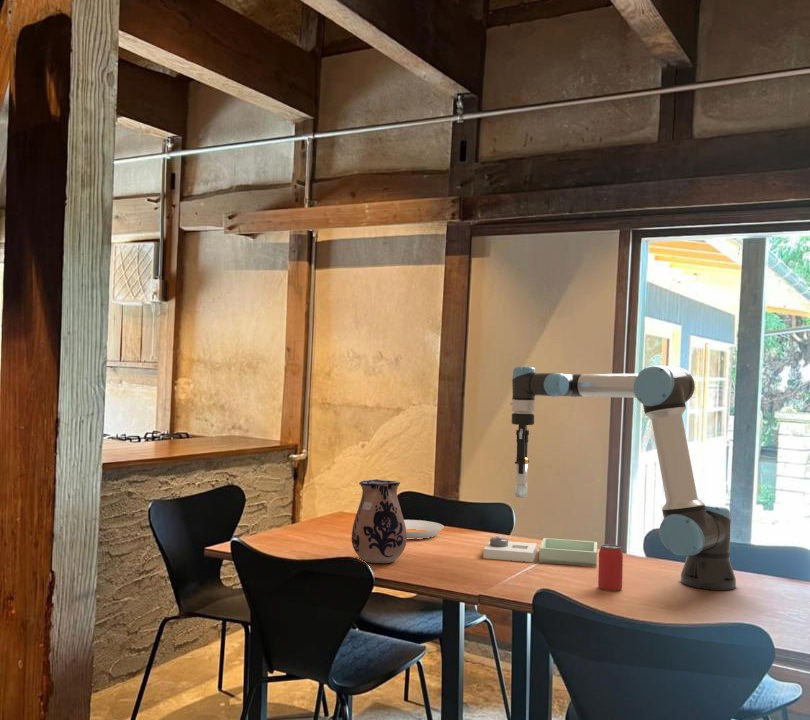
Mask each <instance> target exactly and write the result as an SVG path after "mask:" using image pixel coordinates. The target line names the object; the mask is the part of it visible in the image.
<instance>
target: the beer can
mask: <svg viewBox="0 0 810 720" xmlns="http://www.w3.org/2000/svg"><path fill="white" fill-rule="evenodd" d="M623 559H624V554H623V551H622V546H620V545H617V544H611V543H610V544H608V543H606V544H601V545H600V548H599V551H598V574H597V575H598V578H597V579H598V580H597V581H598V582H597V584H598V588H599V589H601V590H602V589H603V591H606V590H607V591H606V592H618V591H621V590H622V589H623V566H624V565H623V562H624V560H623Z"/></svg>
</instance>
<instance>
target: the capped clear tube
mask: <svg viewBox="0 0 810 720" xmlns="http://www.w3.org/2000/svg"><path fill="white" fill-rule="evenodd" d="M516 460H517V456H516V457H515V462H517V461H516ZM528 460H529V458H528V457H527V458H526V457H525V484H517V464H515V483H514V484H515V485H514V486H515V490H514V491H515V492H514V497H516V498H528V485H529V484H528V482H529V481H528V480H529V479H528V475H529V463H528Z"/></svg>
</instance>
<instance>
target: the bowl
mask: <svg viewBox="0 0 810 720" xmlns="http://www.w3.org/2000/svg"><path fill="white" fill-rule="evenodd" d="M404 522H405V526H406V529H416V530H426V531H428V532H407V538H414V539H417V538H428V537H432V536H434V537H436V536H437V534H439V532H441V530H443V529H444V525H443V524H441V523H439V522H435V521H429V520H428V521H427V520H421V519H418V520H417V519H404ZM432 538H433V537H432Z"/></svg>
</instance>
